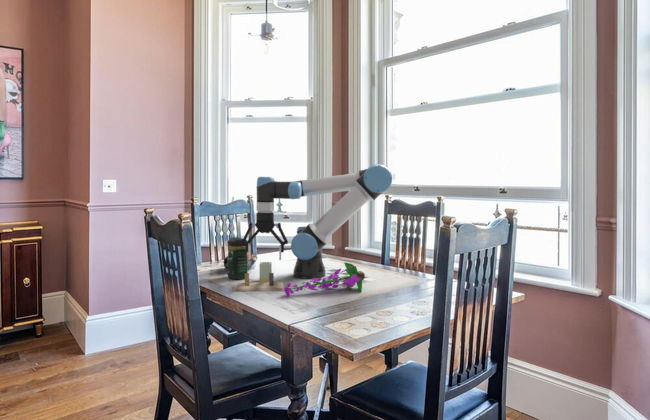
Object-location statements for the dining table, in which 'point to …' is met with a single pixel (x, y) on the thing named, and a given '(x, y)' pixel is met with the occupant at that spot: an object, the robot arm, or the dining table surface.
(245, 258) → the coffee jar
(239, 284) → the pin board
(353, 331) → the dining table surface
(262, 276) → the sleeve
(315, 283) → the purple and green stem
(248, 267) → the lucky cat figurine
